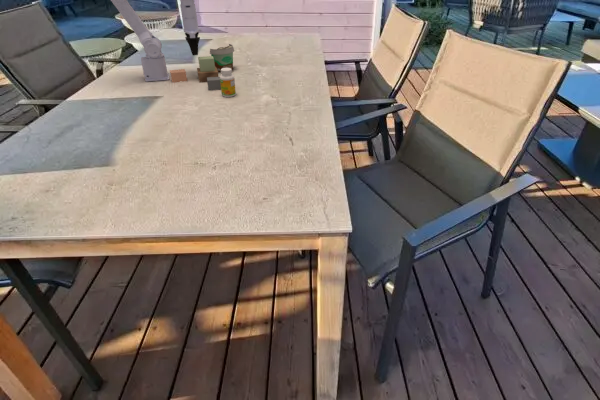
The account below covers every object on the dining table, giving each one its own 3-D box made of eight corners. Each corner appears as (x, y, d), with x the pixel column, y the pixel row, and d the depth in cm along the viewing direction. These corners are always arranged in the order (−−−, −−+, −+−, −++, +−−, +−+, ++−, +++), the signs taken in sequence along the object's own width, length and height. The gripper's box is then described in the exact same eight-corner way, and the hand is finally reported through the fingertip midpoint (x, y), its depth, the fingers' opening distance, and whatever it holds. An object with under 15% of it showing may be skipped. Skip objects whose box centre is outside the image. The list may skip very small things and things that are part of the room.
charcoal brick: (208, 90, 149) (207, 80, 147) (208, 87, 152) (207, 77, 150) (223, 89, 150) (222, 79, 148) (223, 86, 153) (222, 76, 151)
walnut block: (199, 83, 157) (198, 73, 154) (198, 77, 163) (196, 68, 161) (219, 81, 159) (218, 72, 156) (217, 76, 165) (215, 66, 163)
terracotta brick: (172, 82, 156) (170, 73, 154) (171, 80, 159) (169, 70, 157) (187, 81, 158) (185, 71, 156) (185, 78, 161) (184, 68, 159)
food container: (221, 75, 165) (218, 51, 159) (212, 72, 168) (209, 48, 162) (241, 68, 173) (239, 45, 167) (232, 66, 176) (229, 43, 170)
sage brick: (200, 72, 156) (199, 59, 153) (199, 69, 159) (198, 57, 156) (215, 70, 158) (213, 58, 155) (214, 68, 161) (212, 56, 158)
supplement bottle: (218, 95, 144) (215, 70, 138) (227, 91, 148) (224, 66, 142) (230, 98, 142) (227, 72, 136) (238, 94, 146) (236, 68, 140)
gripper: (200, 20, 146) (205, 56, 154) (198, 13, 158) (203, 48, 166) (182, 21, 145) (187, 57, 153) (181, 14, 156) (186, 49, 164)
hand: (194, 52), depth 159 cm, fingers open, 7 cm apart
